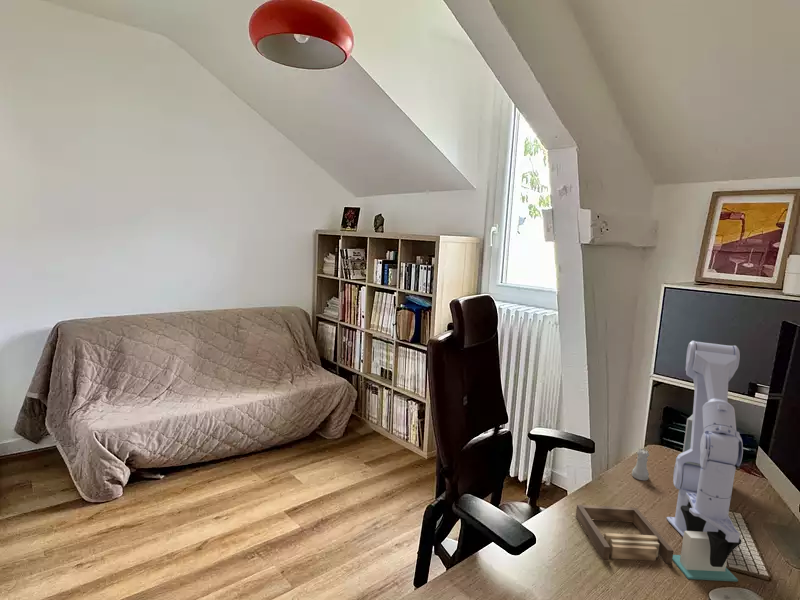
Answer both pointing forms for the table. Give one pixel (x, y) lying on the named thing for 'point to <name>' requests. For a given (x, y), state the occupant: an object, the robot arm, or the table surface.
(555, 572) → the table surface
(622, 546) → the offcut stack
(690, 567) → the off-white rectangular block
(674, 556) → the teal mat
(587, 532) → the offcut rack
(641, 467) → the rook chess piece
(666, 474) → the table surface
